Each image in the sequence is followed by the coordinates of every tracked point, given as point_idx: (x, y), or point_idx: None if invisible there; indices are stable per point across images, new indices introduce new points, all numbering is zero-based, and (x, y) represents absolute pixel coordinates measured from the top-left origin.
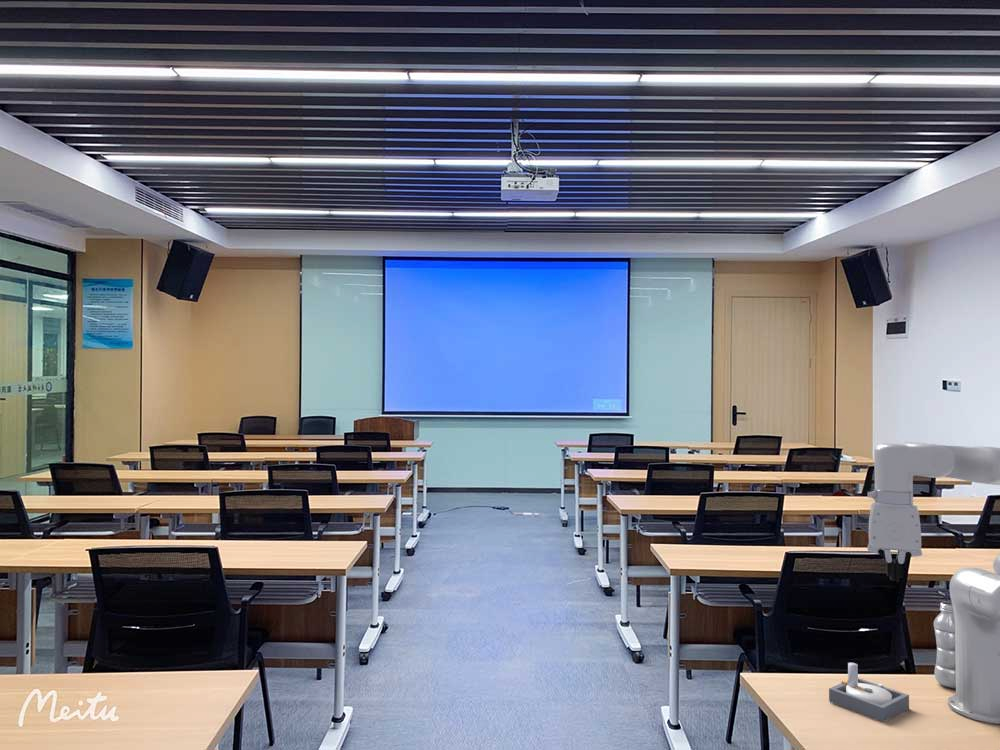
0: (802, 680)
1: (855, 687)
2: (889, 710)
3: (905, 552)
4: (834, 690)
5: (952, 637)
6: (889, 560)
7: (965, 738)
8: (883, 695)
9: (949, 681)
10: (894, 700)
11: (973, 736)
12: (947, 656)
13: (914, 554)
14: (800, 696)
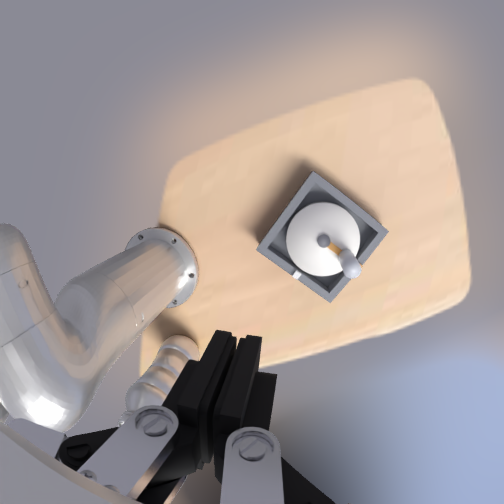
0: (401, 303)
1: (343, 249)
2: (299, 189)
3: (82, 467)
4: (381, 225)
5: (150, 378)
6: (248, 444)
7: (201, 159)
8: (301, 229)
9: (183, 339)
10: (286, 213)
11: (189, 171)
12: (171, 363)
13: (46, 440)
14: (419, 234)
